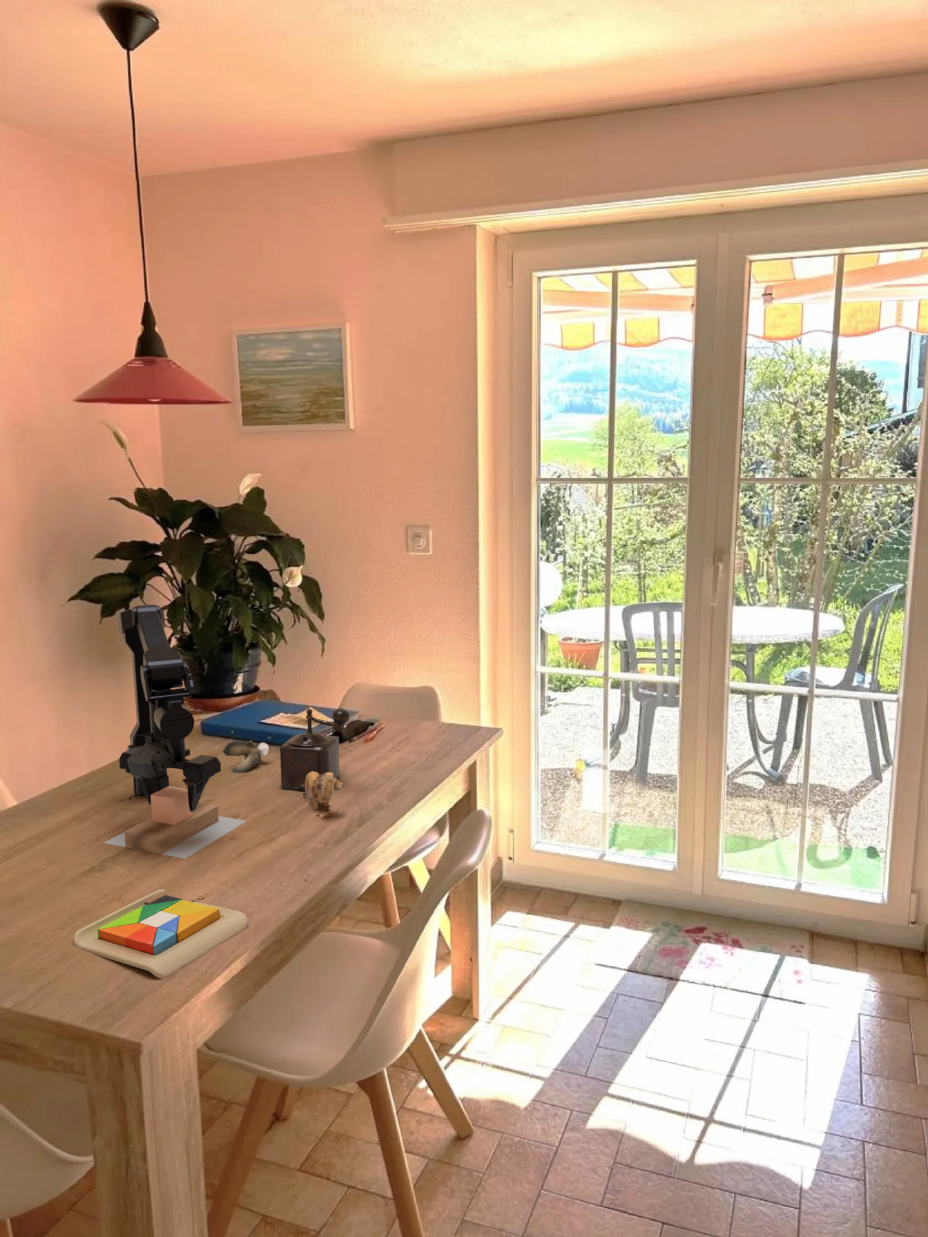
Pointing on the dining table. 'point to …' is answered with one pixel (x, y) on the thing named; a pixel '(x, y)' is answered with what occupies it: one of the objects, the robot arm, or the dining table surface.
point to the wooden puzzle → (160, 933)
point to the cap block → (170, 805)
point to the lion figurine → (321, 788)
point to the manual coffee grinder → (311, 752)
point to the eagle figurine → (246, 754)
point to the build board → (192, 838)
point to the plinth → (170, 830)
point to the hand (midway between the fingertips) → (172, 807)
